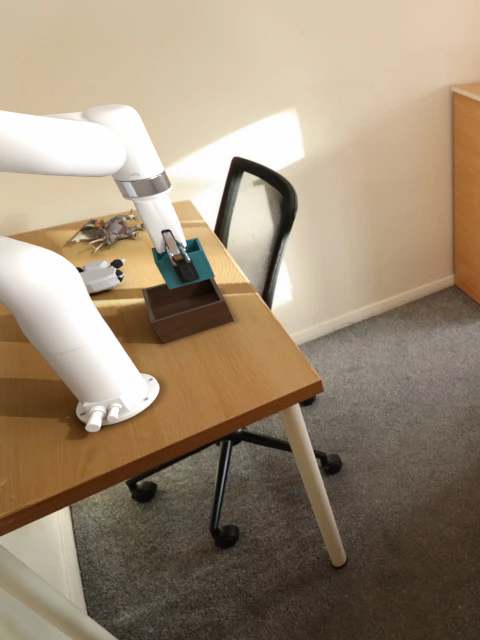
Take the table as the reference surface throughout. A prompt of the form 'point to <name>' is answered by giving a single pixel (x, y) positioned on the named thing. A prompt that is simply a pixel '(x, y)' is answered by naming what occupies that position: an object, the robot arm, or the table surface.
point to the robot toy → (101, 275)
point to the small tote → (194, 254)
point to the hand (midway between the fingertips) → (188, 271)
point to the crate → (185, 309)
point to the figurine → (107, 230)
